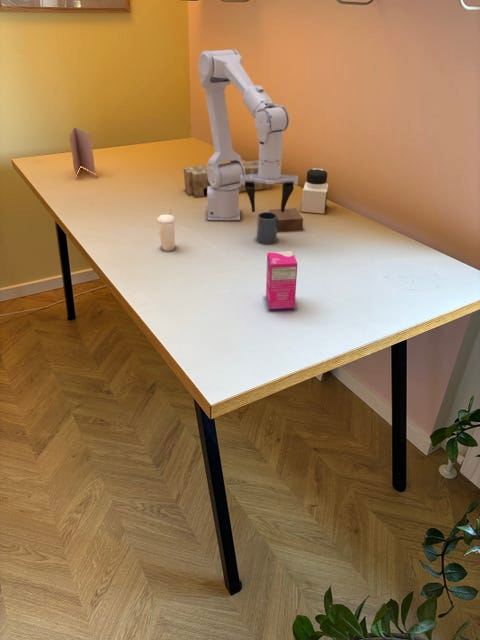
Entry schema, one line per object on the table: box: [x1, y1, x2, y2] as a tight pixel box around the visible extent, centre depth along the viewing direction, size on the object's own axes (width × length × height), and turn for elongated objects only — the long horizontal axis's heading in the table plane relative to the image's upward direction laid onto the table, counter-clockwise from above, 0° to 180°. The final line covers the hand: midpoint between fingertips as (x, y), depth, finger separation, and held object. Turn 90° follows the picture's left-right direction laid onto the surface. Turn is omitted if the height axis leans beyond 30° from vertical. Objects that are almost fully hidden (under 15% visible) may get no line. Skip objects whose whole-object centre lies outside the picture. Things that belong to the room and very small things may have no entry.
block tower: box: [183, 159, 271, 198], centre depth 172 cm, size 8×8×29 cm
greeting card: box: [68, 127, 97, 181], centre depth 181 cm, size 11×7×15 cm, turn 6°
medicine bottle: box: [300, 168, 329, 215], centre depth 157 cm, size 7×7×12 cm
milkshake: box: [156, 207, 176, 252], centre depth 134 cm, size 5×5×10 cm
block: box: [268, 207, 304, 233], centre depth 149 cm, size 8×8×4 cm
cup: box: [256, 211, 278, 245], centre depth 139 cm, size 5×5×7 cm
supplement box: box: [265, 250, 298, 312], centre depth 111 cm, size 6×6×12 cm
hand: (267, 210), depth 137 cm, fingers open, 7 cm apart
